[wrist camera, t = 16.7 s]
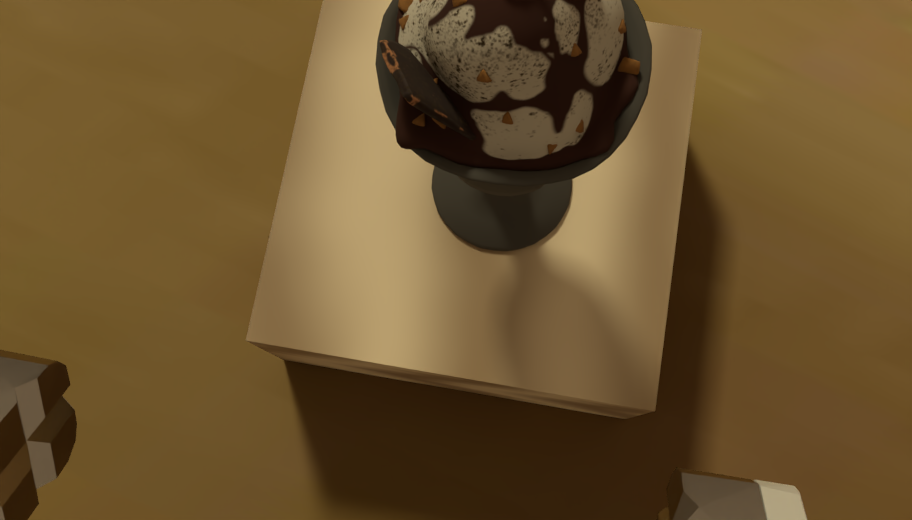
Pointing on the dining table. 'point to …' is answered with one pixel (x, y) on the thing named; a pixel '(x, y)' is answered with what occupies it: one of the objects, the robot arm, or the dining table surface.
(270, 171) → the dining table surface
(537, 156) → the sundae
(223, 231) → the dining table surface
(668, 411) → the dining table surface
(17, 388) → the robot arm
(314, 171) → the block
